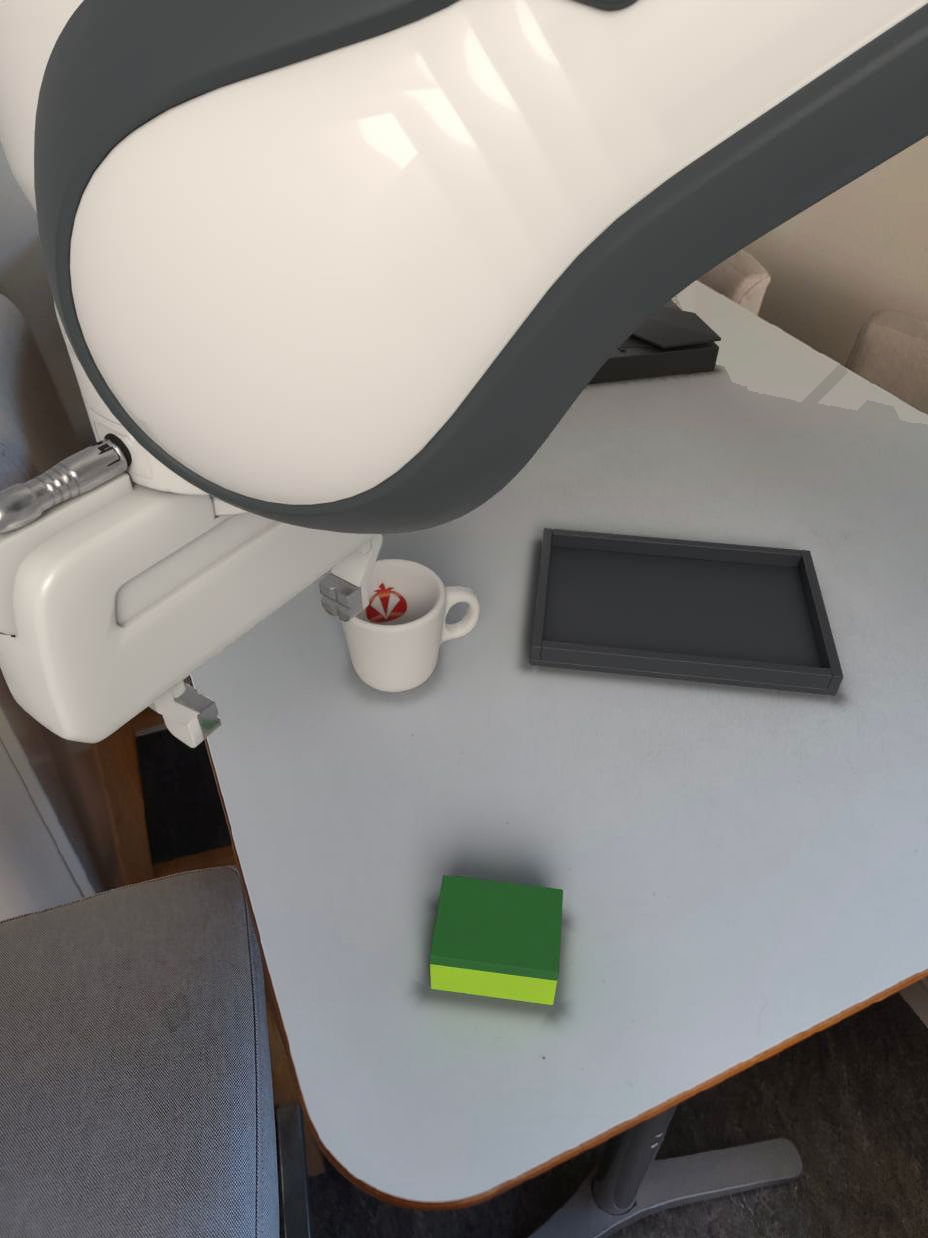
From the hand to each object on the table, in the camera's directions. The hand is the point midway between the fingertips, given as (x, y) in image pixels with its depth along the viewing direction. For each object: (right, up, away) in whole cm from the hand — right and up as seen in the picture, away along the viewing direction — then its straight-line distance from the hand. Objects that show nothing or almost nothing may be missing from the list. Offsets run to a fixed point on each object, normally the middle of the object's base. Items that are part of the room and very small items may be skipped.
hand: (276, 666), depth 39 cm
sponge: (+10, -18, +12) cm, 24 cm away
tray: (+26, +3, +34) cm, 43 cm away
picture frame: (+25, +40, +75) cm, 89 cm away
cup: (+4, -2, +30) cm, 30 cm away
